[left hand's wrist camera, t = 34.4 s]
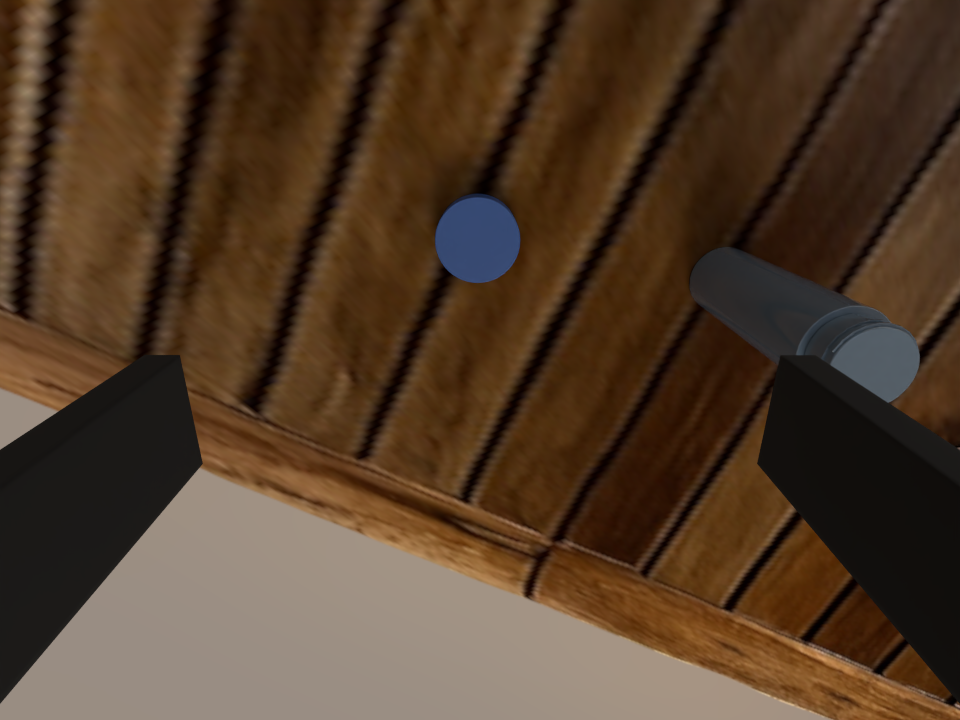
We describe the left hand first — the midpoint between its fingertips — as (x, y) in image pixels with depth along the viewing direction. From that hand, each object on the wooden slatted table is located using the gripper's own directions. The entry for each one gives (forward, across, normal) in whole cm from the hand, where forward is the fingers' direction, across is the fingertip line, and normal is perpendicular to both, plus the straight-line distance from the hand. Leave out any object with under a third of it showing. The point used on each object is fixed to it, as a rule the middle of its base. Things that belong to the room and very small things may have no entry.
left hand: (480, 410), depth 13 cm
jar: (+26, +16, -3) cm, 31 cm away
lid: (+24, 0, 0) cm, 24 cm away
